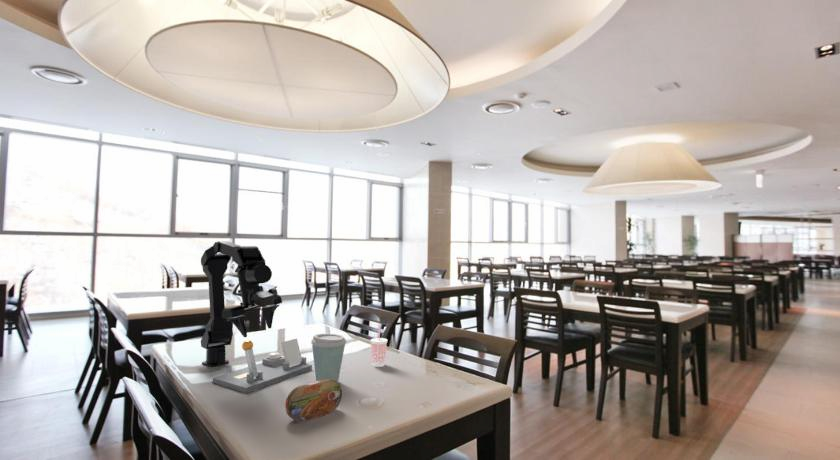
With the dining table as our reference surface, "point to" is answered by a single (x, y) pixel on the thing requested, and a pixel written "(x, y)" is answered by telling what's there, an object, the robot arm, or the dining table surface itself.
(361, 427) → the dining table surface
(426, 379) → the dining table surface
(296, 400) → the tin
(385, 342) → the beverage cup
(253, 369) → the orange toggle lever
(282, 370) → the switch panel
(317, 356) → the disposable coffee cup
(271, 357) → the cream push button
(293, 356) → the grey paddle
